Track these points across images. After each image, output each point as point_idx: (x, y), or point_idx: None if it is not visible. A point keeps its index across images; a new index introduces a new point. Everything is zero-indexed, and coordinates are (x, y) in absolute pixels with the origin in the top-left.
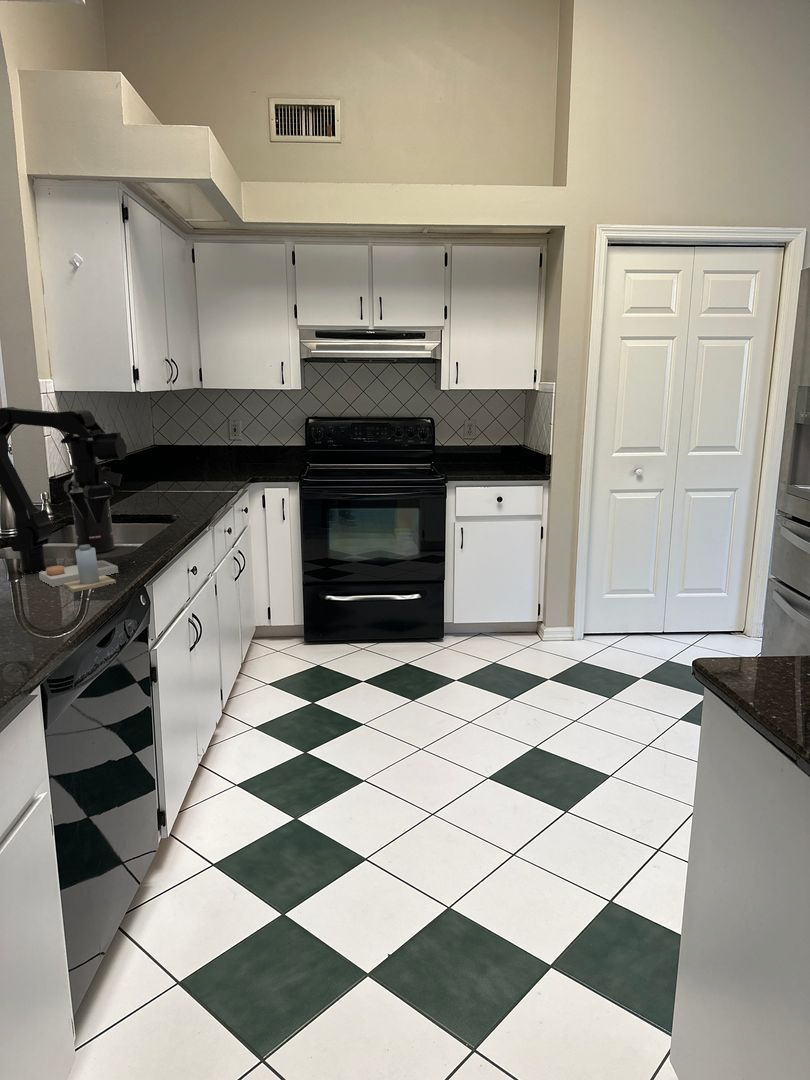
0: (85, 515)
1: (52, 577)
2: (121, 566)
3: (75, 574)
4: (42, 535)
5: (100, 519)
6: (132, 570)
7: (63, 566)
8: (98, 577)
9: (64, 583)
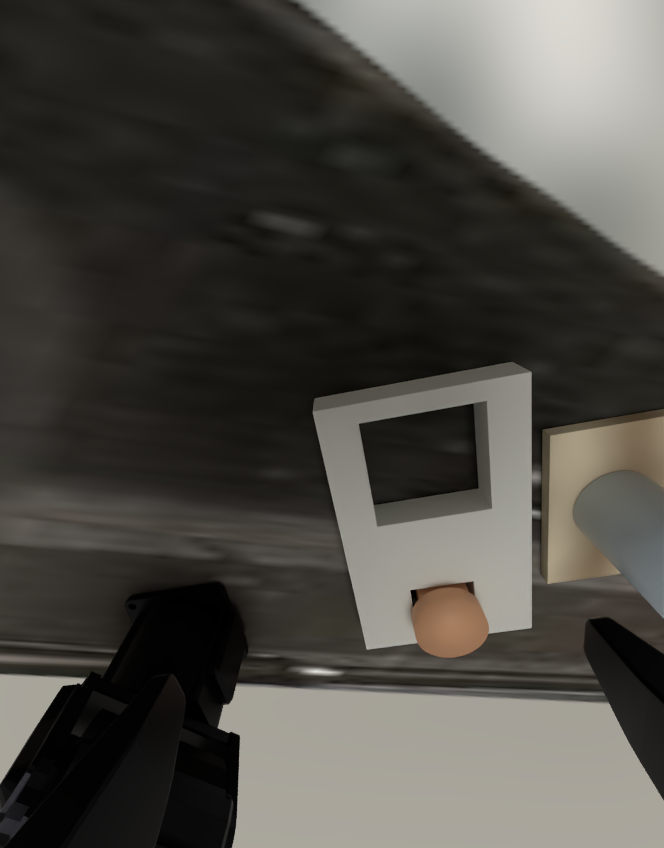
0: (162, 730)
1: (501, 623)
2: (353, 316)
3: (528, 554)
4: (198, 777)
5: (654, 659)
6: (492, 281)
7: (459, 605)
8: (655, 483)
9: (551, 580)
